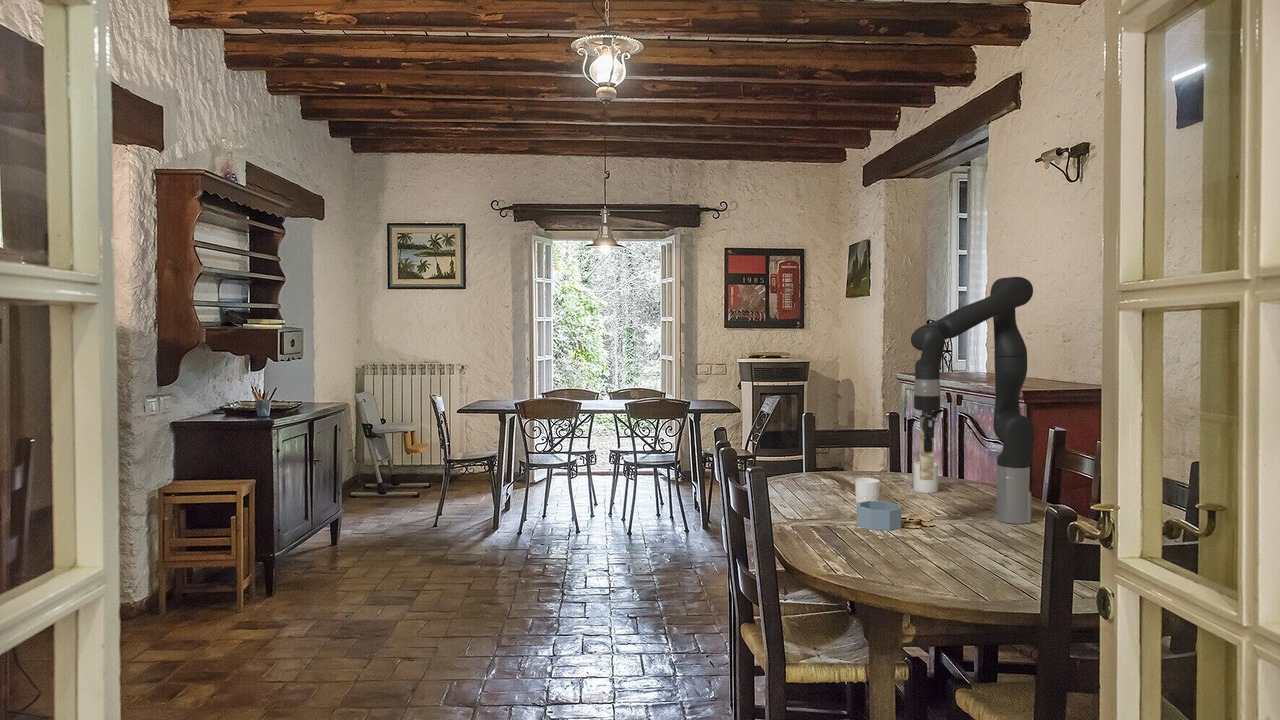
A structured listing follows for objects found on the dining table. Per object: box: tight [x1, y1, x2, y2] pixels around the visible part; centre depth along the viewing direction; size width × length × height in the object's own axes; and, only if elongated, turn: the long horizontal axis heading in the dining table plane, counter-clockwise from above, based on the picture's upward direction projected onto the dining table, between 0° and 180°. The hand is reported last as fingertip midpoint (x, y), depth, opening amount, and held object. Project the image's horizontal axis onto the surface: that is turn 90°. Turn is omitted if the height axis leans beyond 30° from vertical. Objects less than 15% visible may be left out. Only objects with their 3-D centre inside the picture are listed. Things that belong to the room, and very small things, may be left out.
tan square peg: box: [919, 428, 935, 480], centre depth 241 cm, size 4×4×15 cm
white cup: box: [854, 477, 881, 505], centre depth 262 cm, size 8×8×10 cm
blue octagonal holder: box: [856, 500, 902, 532], centre depth 243 cm, size 13×13×6 cm
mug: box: [913, 461, 939, 495], centre depth 291 cm, size 12×8×10 cm
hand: (926, 450), depth 241 cm, fingers closed on tan square peg, 3 cm apart
